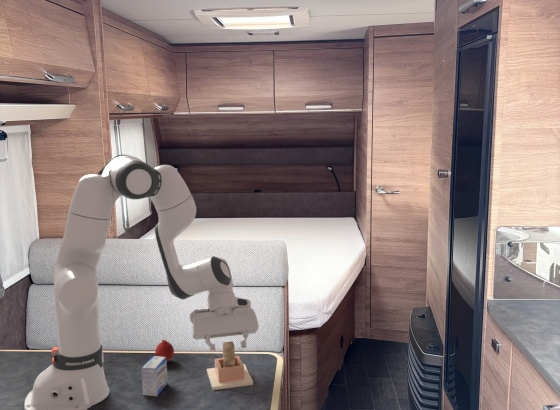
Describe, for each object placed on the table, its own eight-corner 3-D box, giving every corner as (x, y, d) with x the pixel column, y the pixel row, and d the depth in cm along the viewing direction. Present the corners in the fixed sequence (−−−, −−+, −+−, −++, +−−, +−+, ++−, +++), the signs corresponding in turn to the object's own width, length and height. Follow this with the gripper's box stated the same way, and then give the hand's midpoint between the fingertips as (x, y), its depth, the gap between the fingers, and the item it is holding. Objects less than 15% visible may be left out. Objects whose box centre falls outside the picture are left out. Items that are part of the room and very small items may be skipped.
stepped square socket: (212, 390, 164) (212, 374, 164) (206, 371, 176) (206, 356, 175) (253, 384, 168) (252, 368, 167) (244, 366, 179) (244, 352, 178)
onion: (167, 356, 186) (166, 334, 185) (177, 362, 182) (177, 338, 181) (152, 362, 182) (151, 339, 181) (162, 368, 178) (161, 344, 177)
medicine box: (157, 397, 161) (155, 368, 159) (142, 395, 162) (140, 367, 160) (167, 383, 168) (166, 356, 167) (153, 382, 169) (152, 355, 168)
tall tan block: (225, 377, 170) (224, 346, 168) (223, 373, 173) (222, 342, 171) (235, 376, 170) (234, 345, 169) (233, 372, 173) (232, 341, 172)
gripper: (189, 306, 173) (194, 349, 165) (255, 299, 178) (262, 341, 170) (188, 314, 178) (193, 357, 170) (252, 308, 183) (259, 349, 175)
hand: (228, 349), depth 170 cm, fingers open, 8 cm apart
